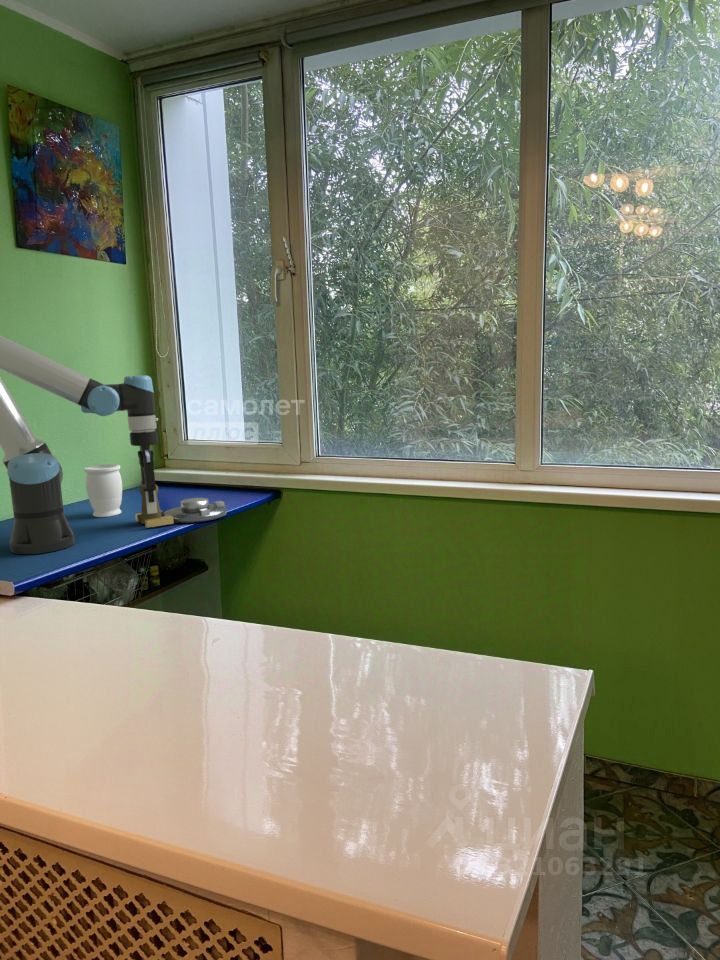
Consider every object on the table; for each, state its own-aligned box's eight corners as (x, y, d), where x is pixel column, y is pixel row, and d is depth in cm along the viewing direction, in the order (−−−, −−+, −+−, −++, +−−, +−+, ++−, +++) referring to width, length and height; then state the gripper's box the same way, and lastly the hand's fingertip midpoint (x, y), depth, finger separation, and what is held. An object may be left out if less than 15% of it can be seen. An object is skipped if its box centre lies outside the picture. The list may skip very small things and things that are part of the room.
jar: (117, 517, 212) (112, 468, 209) (83, 519, 212) (78, 469, 209) (129, 510, 222) (125, 463, 220) (97, 511, 222) (92, 464, 220)
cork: (143, 524, 198) (139, 485, 197) (139, 522, 203) (135, 484, 202) (165, 521, 201) (161, 483, 200) (160, 519, 206) (156, 482, 205)
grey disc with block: (213, 506, 220) (212, 492, 220) (236, 515, 205) (235, 500, 205) (132, 518, 207) (131, 503, 207) (150, 529, 192) (149, 513, 192)
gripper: (161, 432, 192) (168, 515, 196) (153, 427, 208) (160, 504, 212) (132, 434, 189) (140, 519, 193) (126, 429, 205) (134, 507, 209)
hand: (151, 511), depth 202 cm, fingers closed on cork, 5 cm apart
